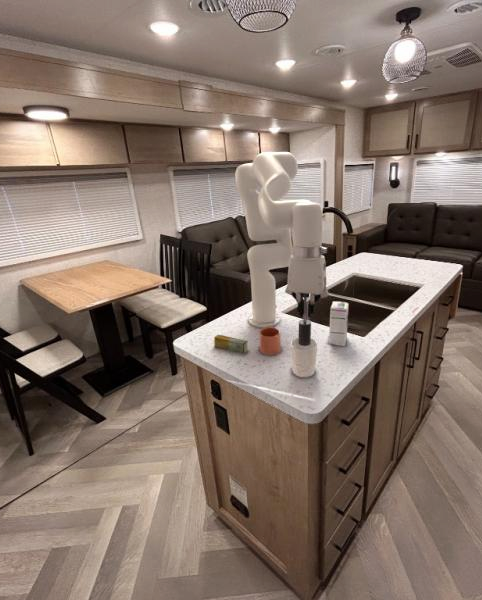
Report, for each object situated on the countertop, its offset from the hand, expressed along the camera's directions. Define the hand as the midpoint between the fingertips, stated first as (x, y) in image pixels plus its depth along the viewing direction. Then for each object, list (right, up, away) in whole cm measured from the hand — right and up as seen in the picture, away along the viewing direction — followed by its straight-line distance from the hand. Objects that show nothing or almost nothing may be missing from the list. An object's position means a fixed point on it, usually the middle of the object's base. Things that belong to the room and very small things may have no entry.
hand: (306, 314), depth 91 cm
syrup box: (+14, -11, +24) cm, 30 cm away
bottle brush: (0, -9, +4) cm, 10 cm away
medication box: (-24, -13, +21) cm, 34 cm away
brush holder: (-10, -13, +20) cm, 26 cm away
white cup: (0, -18, +8) cm, 20 cm away
